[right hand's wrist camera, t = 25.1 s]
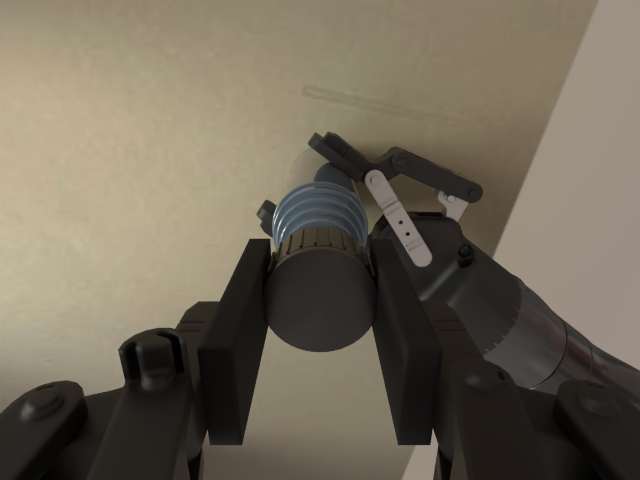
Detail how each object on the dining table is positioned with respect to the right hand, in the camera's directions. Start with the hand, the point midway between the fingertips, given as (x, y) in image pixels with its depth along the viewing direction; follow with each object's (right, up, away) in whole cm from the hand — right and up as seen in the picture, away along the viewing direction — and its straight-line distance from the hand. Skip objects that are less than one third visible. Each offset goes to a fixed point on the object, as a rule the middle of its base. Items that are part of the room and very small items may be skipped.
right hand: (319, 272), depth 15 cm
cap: (0, -1, -2) cm, 2 cm away
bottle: (0, +6, +16) cm, 17 cm away
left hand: (-2, +5, +9) cm, 11 cm away
